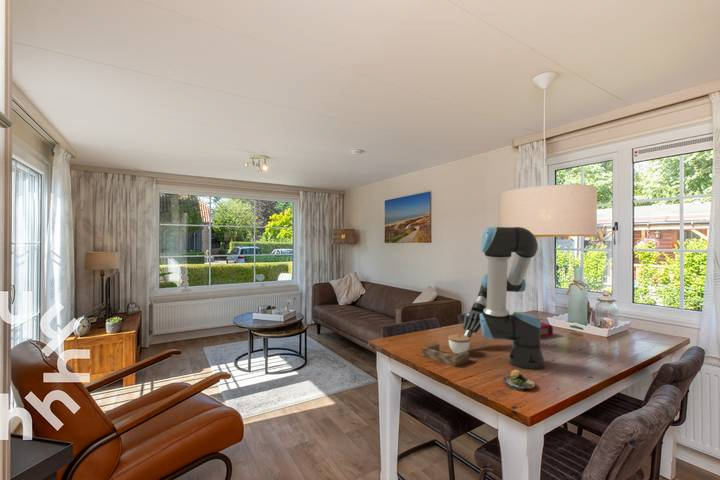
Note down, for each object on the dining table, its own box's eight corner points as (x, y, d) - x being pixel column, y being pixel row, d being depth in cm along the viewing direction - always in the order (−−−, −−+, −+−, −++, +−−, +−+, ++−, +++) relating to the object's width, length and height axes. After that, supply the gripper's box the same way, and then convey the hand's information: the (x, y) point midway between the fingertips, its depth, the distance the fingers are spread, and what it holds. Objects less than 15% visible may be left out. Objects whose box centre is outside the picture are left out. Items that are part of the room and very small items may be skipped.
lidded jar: (472, 356, 164) (472, 337, 164) (450, 355, 166) (450, 336, 166) (467, 349, 175) (467, 331, 175) (447, 348, 176) (447, 331, 176)
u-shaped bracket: (468, 360, 158) (469, 352, 159) (455, 366, 151) (455, 358, 151) (436, 350, 173) (436, 343, 173) (421, 355, 165) (421, 347, 165)
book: (515, 325, 228) (515, 314, 228) (553, 336, 202) (553, 323, 202) (492, 328, 219) (492, 317, 219) (528, 340, 193) (528, 327, 193)
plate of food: (526, 395, 124) (526, 375, 124) (497, 384, 133) (497, 365, 133) (541, 387, 131) (541, 368, 131) (512, 377, 140) (513, 359, 140)
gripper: (493, 312, 183) (478, 348, 172) (472, 308, 193) (456, 342, 182) (488, 303, 179) (472, 340, 169) (467, 300, 189) (450, 334, 178)
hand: (464, 341), depth 175 cm, fingers closed
